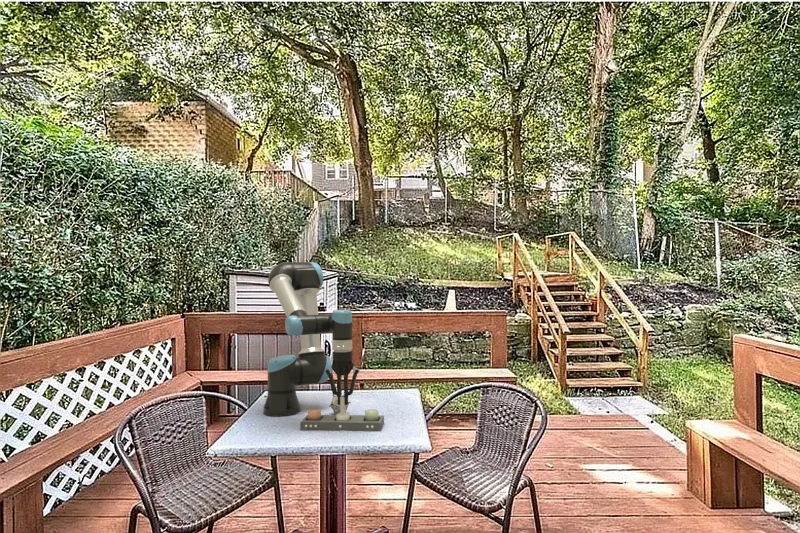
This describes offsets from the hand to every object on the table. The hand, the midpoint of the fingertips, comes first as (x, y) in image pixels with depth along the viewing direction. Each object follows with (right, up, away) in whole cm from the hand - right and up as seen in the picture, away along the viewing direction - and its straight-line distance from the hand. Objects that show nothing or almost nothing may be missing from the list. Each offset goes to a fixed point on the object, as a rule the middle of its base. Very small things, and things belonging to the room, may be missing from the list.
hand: (343, 413), depth 209 cm
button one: (0, -4, 0) cm, 4 cm away
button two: (+11, -3, -1) cm, 11 cm away
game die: (-3, -6, +20) cm, 21 cm away
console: (0, -5, 0) cm, 5 cm away
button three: (-11, -3, +1) cm, 11 cm away
